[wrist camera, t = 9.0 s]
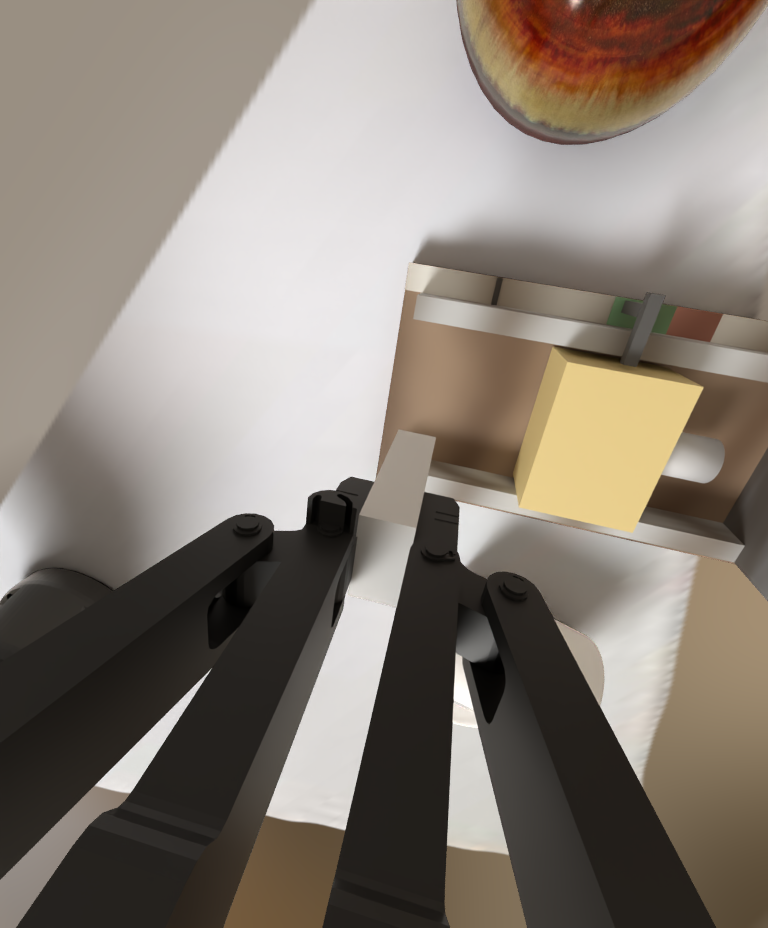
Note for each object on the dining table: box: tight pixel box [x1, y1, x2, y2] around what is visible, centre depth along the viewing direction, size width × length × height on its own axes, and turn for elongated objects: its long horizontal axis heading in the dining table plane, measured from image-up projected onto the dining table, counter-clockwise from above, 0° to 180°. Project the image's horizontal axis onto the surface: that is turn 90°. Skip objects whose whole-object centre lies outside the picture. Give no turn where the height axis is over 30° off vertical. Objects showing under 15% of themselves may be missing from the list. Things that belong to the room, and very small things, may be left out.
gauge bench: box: [376, 262, 768, 601], centre depth 23 cm, size 24×14×7 cm, turn 82°
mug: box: [453, 619, 604, 728], centre depth 31 cm, size 12×10×8 cm
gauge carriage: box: [513, 292, 725, 533], centre depth 22 cm, size 9×11×4 cm
